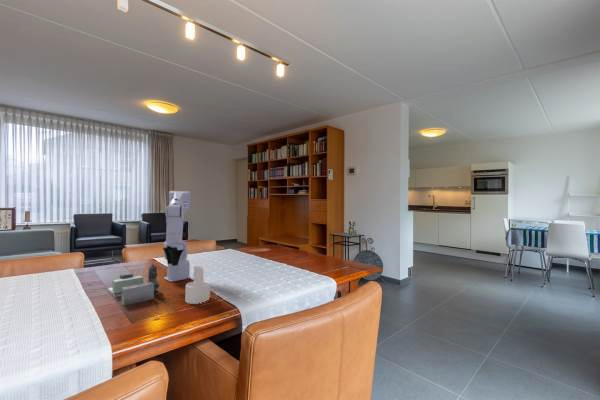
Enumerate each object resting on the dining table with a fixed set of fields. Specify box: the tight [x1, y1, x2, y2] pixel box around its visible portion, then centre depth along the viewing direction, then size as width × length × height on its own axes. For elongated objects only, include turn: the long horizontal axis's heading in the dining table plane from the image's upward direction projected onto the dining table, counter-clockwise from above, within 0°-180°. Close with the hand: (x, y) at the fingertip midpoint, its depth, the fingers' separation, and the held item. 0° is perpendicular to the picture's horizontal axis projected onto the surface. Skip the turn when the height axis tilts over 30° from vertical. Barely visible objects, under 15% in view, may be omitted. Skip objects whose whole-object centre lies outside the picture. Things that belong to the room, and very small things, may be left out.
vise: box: [107, 282, 155, 307], centre depth 109 cm, size 10×22×6 cm, turn 47°
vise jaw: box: [112, 272, 144, 293], centre depth 112 cm, size 10×6×6 cm, turn 137°
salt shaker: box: [147, 263, 161, 296], centre depth 112 cm, size 6×6×12 cm
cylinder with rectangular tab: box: [184, 265, 211, 305], centre depth 106 cm, size 9×9×12 cm
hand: (172, 264), depth 117 cm, fingers open, 4 cm apart
